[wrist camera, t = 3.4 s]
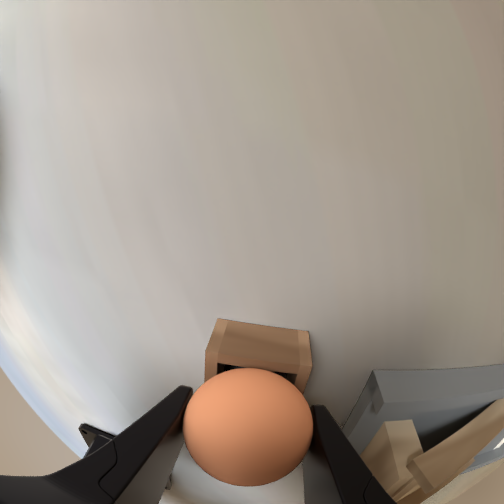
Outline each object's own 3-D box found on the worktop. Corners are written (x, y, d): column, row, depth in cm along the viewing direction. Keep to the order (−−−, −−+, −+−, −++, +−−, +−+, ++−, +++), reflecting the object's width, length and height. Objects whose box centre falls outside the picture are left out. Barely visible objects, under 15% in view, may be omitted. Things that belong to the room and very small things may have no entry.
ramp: (462, 444, 13) (482, 497, 8) (343, 461, 13) (350, 535, 8) (508, 384, 11) (543, 440, 6) (384, 399, 11) (411, 493, 6)
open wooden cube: (290, 392, 11) (291, 426, 10) (213, 381, 12) (203, 414, 10) (308, 331, 10) (312, 366, 8) (217, 318, 11) (205, 351, 9)
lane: (532, 427, 13) (545, 451, 9) (313, 474, 14) (314, 524, 10) (584, 347, 9) (605, 370, 6) (373, 369, 11) (396, 442, 7)
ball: (296, 422, 10) (295, 506, 6) (199, 408, 10) (173, 489, 7) (322, 350, 9) (337, 453, 5) (200, 333, 9) (158, 429, 5)
